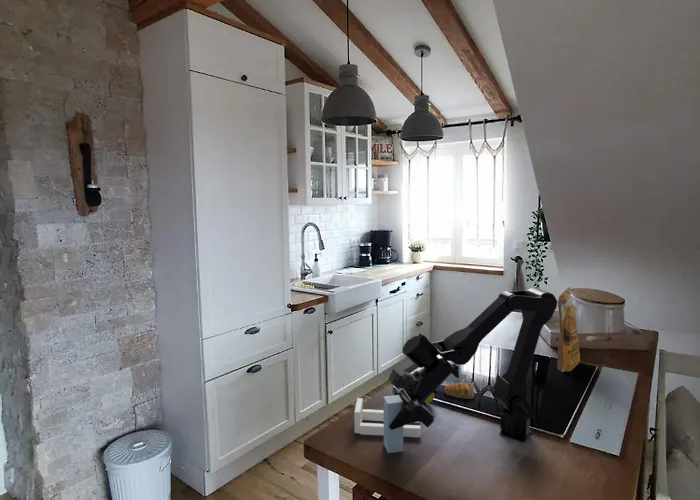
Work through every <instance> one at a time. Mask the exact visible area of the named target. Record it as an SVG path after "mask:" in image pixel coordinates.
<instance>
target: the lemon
mask: <svg viewBox="0 0 700 500" xmlns="http://www.w3.org/2000/svg"><path fill="white" fill-rule="evenodd" d="M434 398H435V394H434V393H433V394H432V395H431V396H430V397H429V398H428V399H427V400H426V401H425V402H426V403H427V405H429V404H431V403H432V402H433V400H434Z"/></svg>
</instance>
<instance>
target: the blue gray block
mask: <svg viewBox="0 0 700 500" xmlns="http://www.w3.org/2000/svg"><path fill="white" fill-rule="evenodd" d="M402 402H403V401H402V399H401V398H400V396H399V395H394V394H393V395H387V396H386V395H385V396H383V410H384V421H383V424H384V436H383V446H384V448H385V450H386V453H387V454H394V453H401V452H404V437H403V426H402V427H399V428H396V429H393V430H391V429H390V428H389V426H390V424H391V423H392V421H393V420H394V419H395V417H396V416H397V415H398V413H399V412H400V411H401V405H402Z"/></svg>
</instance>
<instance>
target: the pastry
mask: <svg viewBox="0 0 700 500" xmlns="http://www.w3.org/2000/svg"><path fill="white" fill-rule="evenodd" d="M443 392H444V394H446V395H447V396H448V397H449V396H450V397H454V398H457V399H466V400H467V399H469V400H471V399H473V398H474V397H475V393H474V392H475V391H474V384H473V383H472V382H469V383H466V382H462V381H461V382H458V383H457V382H456V383H451V384H448V385H446V386H445V387H444V389H443Z"/></svg>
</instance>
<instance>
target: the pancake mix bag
mask: <svg viewBox="0 0 700 500" xmlns="http://www.w3.org/2000/svg"><path fill="white" fill-rule="evenodd" d="M557 308H558V315H559V317H558V319H559V320H558V321H559V327H558V328H559V330H558V331H559V332H558V342H557V343H558V344H557V345H558V347H557V364H556V365H557V366H556V367H557V370H558V371H559V372H561V373H564V372H571V371H573V370H574V369H575V368H576V366H578V365H579V364H580V363H581V353H580V345H579V344H580V343H579V332H578V324H577V323H578V321H577V315H576V309H575V304H574V300H573V296H572V292H571V287H570V286H569V287H568V288H566V289H565V290H564V291H563V292H562V294H560V295H558V299H557Z"/></svg>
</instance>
